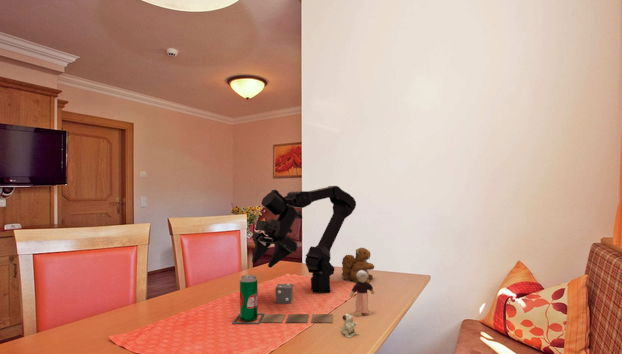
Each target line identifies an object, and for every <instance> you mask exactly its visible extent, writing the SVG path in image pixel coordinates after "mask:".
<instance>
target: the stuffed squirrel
mask: <svg viewBox="0 0 622 354" xmlns="http://www.w3.org/2000/svg"><path fill="white" fill-rule="evenodd" d="M370 258H371V251H369V249H367V248H366V247H359V248H357V249H355V256H354V255H352V254H346V255H344V256H343V258H342V261H341V266H342V267H341V270H342V273H341V276H342V278H343V279H345V280H346V281H353V282H355V283H358V282H359V280H358V278H357V275H356V274H357V272H358V271H360V270H363V271H365V272H366V273H367V274H368V277H367V280H366V281H365V282H367V283H369V284H370V283H371V281H370V280H372V279H373V278H374V276H373V275H372V274H369V271H371V270H374V269H375V265H374V263H370V262H368V260H370Z"/></svg>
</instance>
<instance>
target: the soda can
mask: <svg viewBox="0 0 622 354" xmlns="http://www.w3.org/2000/svg"><path fill="white" fill-rule="evenodd" d="M258 292H259V290H258V279H257V275H255V274H254V275H253V274H246V275H242V276H240V279H239V313H240V317H239V319H240V320H241V322H255V321H256V320H257V319H258V317H259V315H258V313H259V310H258V309H259V308H258V307H259V303H258V302H259V301H258V294H259V293H258Z"/></svg>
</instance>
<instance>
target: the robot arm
mask: <svg viewBox="0 0 622 354" xmlns="http://www.w3.org/2000/svg"><path fill="white" fill-rule="evenodd" d="M325 199H329V201H330V203H331V204H332V215H331V217H330V219H329V222H328V224H327V226H326V227H325V230H324V231H323V233H322V236H321V238H320V240H319V241H318V244H317V245H316V246H310V247H309V249H308V252H307V253H306V254H305V258H304V260H305V266H306V268H307V270H308V273H309V274H311V277H310V289H311V291H312V293H313V294H314V293H316V294H317V293H319V294H320V293H321V294H323V293H326V294H328V293H331V278H330V277H331V276H332V275H334V274H335V267H334V265H332V263H330V261H331V249H332V247H333V245H334V243H335V240H336V238H337V237H338V234H339V232H340V229H341V228H342V227H343V226H342V225H343V224H344V221H345V220H346V219H347V218H348V217H349V216H350V215H352V213H354V211H355V209H356V206H357V201H356V200H355V197H353V196H352V195H351V194H350V193H348V192H346V191H344V190H343V189H342V188H341V187H340V186H338V185H329V186H327V187H322V188H318V189H313V190H309V191H306V190H305V191H304V190H301V191H299V190H298V191H289V192H288V193H287V194H286V196H283V195H282V194H281V193H280V192H279V191H278V190H277V189H271V191H270V192H269V193H267V194H266V195H265V196H264V197H263V198H262V200H261V206H262V207H264V208H265V209H266V210H267V211H268V212H270V214H272V215H273V216H277V217H276V219H272V218H269V219H267V220H262V219H261V220H260V219H257V220H256V223H255V227H254V230H255V231H256V232H253V234H252V235H251V239H252V242H253V243H254V251H253V255H252V261H251V262H252V263H253V264H256V263H257V262H258V261H259V260H260V259H261V258H262V257H263V256H264V254H266V253H267V251H268V250H269V247H271V245H274V250H273V253H272V254H271V256H270V259H269V261H268V264H267V267H268V268H269V269H270V268H273V267H274V266H275V265H276V264H278V263H279V262H281V260H283V259H285V258H287V256H289V255H291V254H292V253H296V252H297V249H298V243H297V242H296V241H295V240H294V239H292V237H290V236H289V235H288V234H292V232H293V229H292V227H293V225H294V223H295V222H296V220H297V219H298V220H302V219H303V215H302V211H300V210H296V209H302V208H303V209H304V208H306V207H309V206H310V205H311V204H312V203H313V202H317V201H320V200H325ZM261 231H262V232H261ZM263 232H264V233H263Z"/></svg>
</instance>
